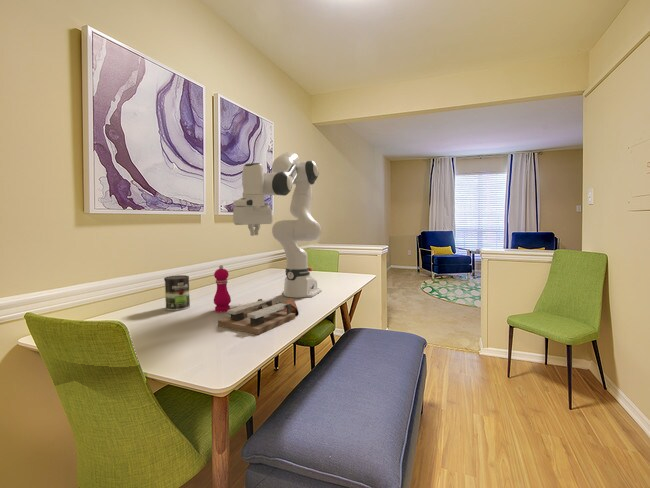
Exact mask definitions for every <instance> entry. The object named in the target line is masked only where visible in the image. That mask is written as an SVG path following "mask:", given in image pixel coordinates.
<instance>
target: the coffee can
mask: <svg viewBox="0 0 650 488" xmlns="http://www.w3.org/2000/svg"><path fill="white" fill-rule="evenodd" d="M163 279H164V293H165V294H164V296H165V298H164V299H165V301H164V302H165V310H166V311H171V312H174V311H183V310H187V309H189V308H190V307H191V305H190V304H191V303H190V302H191V301H190V300H191V299H190V276H189V275H185V274H184V275H183V274H182V275H179V274H178V275H170V276H166V277H164V278H163Z"/></svg>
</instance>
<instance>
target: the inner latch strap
mask: <svg viewBox="0 0 650 488" xmlns="http://www.w3.org/2000/svg"><path fill="white" fill-rule="evenodd" d="M267 301H268V300H263V299H262V300H260V301H258V300H257V301H254V302H250V303H247V304H244V305H240V306H237V307H234V308H230V310H227V311H226V313H227V314H230V315H231V314H234V315H236V314H239V313H242V312H246V311H249V310H252V309H255V308H258V307H261V306H262V307H265V306H268V303H267Z"/></svg>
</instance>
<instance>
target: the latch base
mask: <svg viewBox="0 0 650 488" xmlns="http://www.w3.org/2000/svg"><path fill="white" fill-rule="evenodd" d="M260 300H263V298H259V299H257V301H260ZM266 301H267V303H268V304H267V307H270V306H273V300H271V299H270V300H266ZM279 303H282V302H281V301H277V302H275V305H276V304H279ZM263 308H264V307H263V306H261V307H258V308H255V309H252V310H249V311H246V312H242V313H239V314H236V315H234V314H230V316H228V317H225V318H221V319H218V320H217V324H218V325H217V326H218V327H223V328H225V329H232V330H235V331H239V332H240V331H241V332H245V333H250V334H254V335H258V336H259V335H261V334H263V333H266V332H268V331H270V330H273V329H274V328H277V327H279V326H281V325H284V324H285V323H288V322H291V321H293V320H295V319H296V316H295V313H292V312H291V303H289V304H287V312H284V311H281V310H279V311H276V312H273V313H270V314H267V315H265V316H262V317H259V318H256V319H254V318H249V317H247V314H248V313H251V312H254V311H257V310H260V309H263Z"/></svg>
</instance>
